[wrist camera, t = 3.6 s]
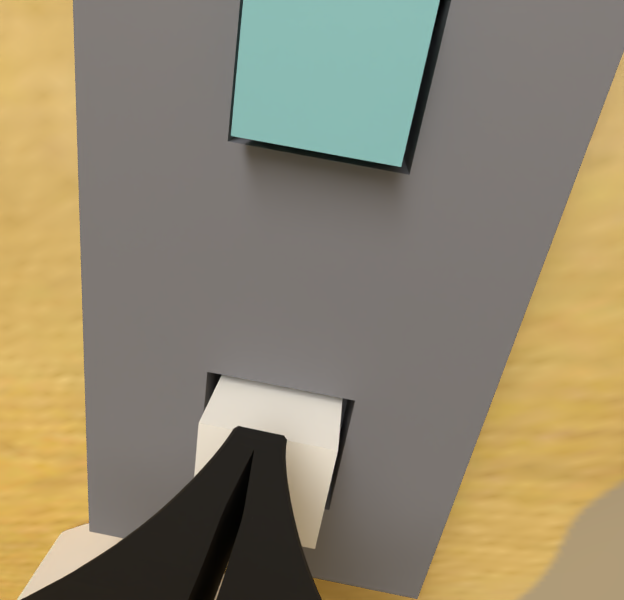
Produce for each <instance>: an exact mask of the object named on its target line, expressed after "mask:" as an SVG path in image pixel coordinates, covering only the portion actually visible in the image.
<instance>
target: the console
mask: <svg viewBox="0 0 624 600" xmlns="http://www.w3.org/2000/svg"><path fill="white" fill-rule="evenodd" d="M242 7H243V0H73V17H74V50H75V82H76V115H77V147H78V179H79V212H80V244H81V277H82V309H83V341H84V374H85V406H86V438H87V471H88V503H89V531H90V532H94V533H99V534H104V535H109V536H114V537H119V538H125V537H126V536H128V535H129V534H130V533H132V532H133V531H134V530H136V529H137V528H138V527H140V526H141V525H142V524H143V523H145V522H146V521H147V520H148V519H150V518H151V517H152V516H153V515H154V514H156V513H157V512H158V511H159V510H160V509H161V508H163V507H164V506H165V505H166V504H167V503H168V502H169V501H170V500H171V499H172V498H174V497H175V496H176V495H177V494H178V493H179V492H180V491H181V490H182V489H183V488H184V487H185V486H186V485H187V484H188V483H189V482H190V481H191V480H192V479H193V478H194V472H195V460H196V448H197V437H198V425H199V421H200V419H201V417H202V415H203V413H204V411H205V409H206V407H207V404H208V402H209V400H210V398H211V396H212V394H213V392H214V390H215V388H216V386H217V384H218V382H219V379H220V377H221V375H227V376H232V377H237V378H242V379H247V380H252V381H257V382H262V383H267V384H273V385H278V386H283V387H288V388H293V389H298V390H303V391H308V392H313V393H318V394H323V395H329V396H334V397H339V398H343V399H342V411H341V422H340V433H339V445H338V453H337V457H336V461H335V466H334V470H333V474H332V478H331V483H330V487H329V491H328V495H327V500H326V504H325V508H324V512H323V517H322V521H321V525H320V530H319V534H318V538H317V542H316V547H315V549H312V548H307V547H303V546H302V548H303V551H304V555H305V558H306V561H307V564H308V567H309V569H310V572H311V575H312V577H313V578H318V579H322V580H327V581H332V582H337V583H342V584H347V585H352V586H356V587H361V588H366V589H371V590H376V591H381V592H385V593H390V594H395V595H400V596H405V597H410V598H415V599H417V598H418V596H419V593H420V590H421V588H422V585H423V582H424V580H425V577H426V574H427V572H428V569H429V566H430V564H431V561H432V559H433V556H434V553H435V551H436V548H437V545H438V543H439V540H440V537H441V535H442V532H443V529H444V527H445V524H446V521H447V519H448V516H449V513H450V511H451V508H452V505H453V503H454V500H455V497H456V495H457V492H458V489H459V487H460V484H461V482H462V479H463V476H464V474H465V471H466V468H467V466H468V463H469V460H470V458H471V455H472V452H473V450H474V447H475V444H476V442H477V439H478V436H479V434H480V431H481V428H482V426H483V423H484V420H485V418H486V415H487V413H488V410H489V407H490V405H491V402H492V399H493V397H494V394H495V391H496V389H497V386H498V383H499V381H500V378H501V375H502V373H503V370H504V367H505V365H506V362H507V359H508V357H509V354H510V351H511V349H512V346H513V344H514V341H515V338H516V336H517V333H518V330H519V328H520V325H521V322H522V320H523V317H524V314H525V312H526V309H527V306H528V304H529V301H530V298H531V296H532V293H533V290H534V288H535V285H536V282H537V280H538V277H539V274H540V272H541V269H542V267H543V264H544V261H545V259H546V256H547V253H548V251H549V248H550V245H551V243H552V240H553V237H554V235H555V232H556V229H557V227H558V224H559V221H560V219H561V216H562V213H563V211H564V208H565V205H566V203H567V200H568V198H569V195H570V192H571V190H572V187H573V184H574V182H575V179H576V176H577V174H578V171H579V168H580V166H581V163H582V160H583V158H584V155H585V152H586V150H587V147H588V144H589V142H590V139H591V136H592V134H593V131H594V129H595V126H596V123H597V121H598V118H599V115H600V113H601V110H602V107H603V105H604V102H605V99H606V97H607V94H608V91H609V89H610V86H611V83H612V81H613V78H614V75H615V73H616V70H617V67H618V65H619V62H620V59H621V57H622V54H623V52H624V0H440V2H439V6H438V10H437V15H436V19H435V23H434V28H433V32H432V36H431V41H430V45H429V49H428V53H427V58H426V62H425V66H424V71H423V75H422V79H421V84H420V88H419V92H418V97H417V101H416V105H415V110H414V114H413V118H412V123H411V127H410V131H409V136H408V140H407V144H406V149H405V153H404V157H403V161H402V166H401V167H398V166H392V165H387V164H381V163H376V162H371V161H365V160H360V159H354V158H349V157H343V156H338V155H332V154H327V153H322V152H316V151H311V150H305V149H300V148H294V147H289V146H283V145H278V144H273V143H267V142H262V141H256V140H251V139H245V138H240V137H234V136H231V128H232V117H233V106H234V95H235V84H236V73H237V62H238V51H239V40H240V29H241V18H242Z"/></svg>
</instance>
